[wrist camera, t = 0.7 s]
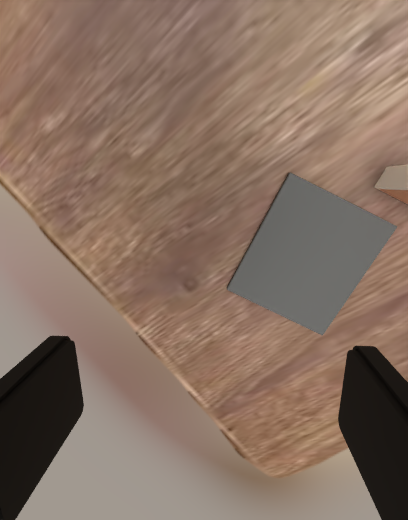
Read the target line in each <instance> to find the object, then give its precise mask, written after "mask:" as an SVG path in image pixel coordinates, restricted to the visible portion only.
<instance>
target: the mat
mask: <svg viewBox="0 0 408 520" xmlns="http://www.w3.org/2000/svg"><path fill="white" fill-rule="evenodd" d="M396 228H397V226H395V225H393V224H391V223H389V222H387V221H385V220H383V219H381V218H379V217H377V216H375V215H373V214H371V213H369V212H367V211H365V210H364V209H362V208H360V207H358V206H356V205H354V204H352V203H350V202H348V201H346V200H344V199H342V198H340V197H338V196H336V195H334V194H332V193H330V192H328V191H326V190H324V189H322V188H320V187H318V186H316V185H314V184H312V183H310V182H308V181H306V180H304V179H302V178H300V177H298V176H296V175H294V174H292V173H289V174H288V176H287V177H286V179H285V181H284V183H283V185H282V187H281V189H280V190H279V192H278V194H277V196H276V198H275V200H274V202H273V203H272V205H271V207H270V209H269V211H268V213H267V214H266V216H265V218H264V220H263V222H262V224H261V226H260V227H259V229H258V231H257V233H256V235H255V237H254V239H253V240H252V242H251V244H250V246H249V248H248V250H247V251H246V253H245V255H244V257H243V259H242V261H241V263H240V264H239V266H238V268H237V270H236V272H235V274H234V276H233V277H232V279H231V281H230V283H229V285H228V287H227V290H229V291H231V292H233V293H235V294H237V295H239V296H241V297H243V298H245V299H248V300H250V301H252V302H254V303H256V304H258V305H260V306H262V307H264V308H266V309H268V310H270V311H273V312H275V313H277V314H279V315H281V316H283V317H285V318H287V319H289V320H291V321H293V322H296V323H298V324H300V325H302V326H304V327H306V328H308V329H310V330H312V331H314V332H316V333H318V334H321V335H323V334H324V333H325V331H326V330H327V328H328V327H329V325H330V324H331V322H332V321H333V319H334V318H335V317H336V315H337V314H338V312H339V311H340V309H341V308H342V306H343V305H344V303H345V302H346V301H347V299H348V298H349V296H350V295H351V293H352V292H353V290H354V289H355V287H356V286H357V285H358V283H359V282H360V280H361V279H362V277H363V276H364V274H365V273H366V271H367V270H368V269H369V267H370V266H371V264H372V263H373V261H374V260H375V258H376V257H377V255H378V254H379V253H380V251H381V250H382V248H383V247H384V245H385V244H386V242H387V241H388V239H389V238H390V237H391V235H392V234H393V232H394V231H395V229H396Z"/></svg>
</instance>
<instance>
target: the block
mask: <svg viewBox="0 0 408 520" xmlns="http://www.w3.org/2000/svg"><path fill="white" fill-rule="evenodd" d="M374 187H375V188H377V189H378V190H380V191H382V192H384V193H386V194H388V195H390V196H392V197H394V198H396V199H398V200H400V201H402V202H404V203H406V204H408V165H398V166H388V167H386V169H385V170H384V172H383V174H382V175H381V177H380V178H379V180H378V181H377V183H376V185H375V186H374Z"/></svg>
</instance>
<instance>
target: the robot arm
mask: <svg viewBox="0 0 408 520" xmlns="http://www.w3.org/2000/svg"><path fill="white" fill-rule="evenodd" d="M83 406H84V404H83V397H82V389H81V382H80V376H79V369H78V362H77V355H76V348H75V343H74V341H71V340H70V338H69V337H68V336H50V337H48V338H47V339H46V340H45V341H44V342H43V343H41V344H40V345H39V346H38V347H37V348H36V349H34V350H33V351H32V352H31V353H30V354H29V355H28V356H26V357H25V358H24V359H23V360H22V361H21V362H19V363H18V364H17V365H16V366H15V367H14V368H12V369H11V370H10V371H9V372H8V373H7V374H6V375H4V376H3V377H2V378H1V379H0V520H15V519H16V518H17V516H18V514H19V513H20V511H21V510H22V508H23V507H24V505H25V503H26V502H27V500H28V499H29V497H30V495H31V494H32V492H33V491H34V489H35V487H36V486H37V484H38V483H39V481H40V480H41V478H42V476H43V475H44V473H45V472H46V470H47V468H48V467H49V465H50V464H51V462H52V460H53V459H54V457H55V456H56V454H57V452H58V451H59V449H60V447H61V446H62V445H63V443H64V441H65V440H66V438H67V437H68V435H69V433H70V432H71V430H72V429H73V427H74V426H75V424H76V422H77V421H78V419H79V418H80V416H81V414H82V411H83ZM338 421H339V426H340V430H341V432H342V434H343V436H344V439H345V441H346V443H347V445H348V447H349V449H350V452H351V454H352V456H353V457H354V460H355V462H356V465H357V467H358V469H359V471H360V473H361V476H362V478H363V480H364V482H365V484H366V486H367V489H368V491H369V493H370V495H371V497H372V499H373V502H374V503H375V506H376V508H377V510H378V512H379V514H380V517H381V519H382V520H408V382H407V381H406V380H405V379H404V378H403V377H402V376H401V375H400V373H399V372H398V371H397V370H396V369H395V368H394V367H393V366H392V365H391V364H390V362H389V361H388V360H387V359H386V358H385V357H384V356H383V355H382V354H381V352H380V351H379V350H378V349H377V348H376V347H373V346H355V347H354V348H353V350H349V351H348V353H347V359H346V366H345V373H344V381H343V388H342V395H341V402H340V409H339V417H338Z"/></svg>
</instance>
